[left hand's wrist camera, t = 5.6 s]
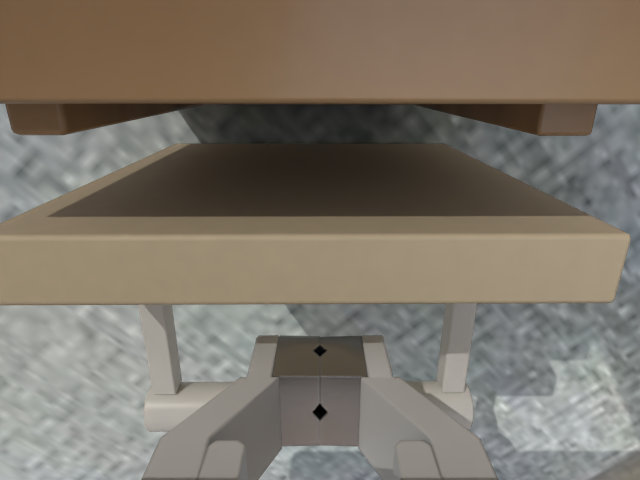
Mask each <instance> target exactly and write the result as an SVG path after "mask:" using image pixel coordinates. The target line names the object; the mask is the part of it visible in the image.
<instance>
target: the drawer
mask: <svg viewBox="0 0 640 480" xmlns="http://www.w3.org/2000/svg"><path fill="white" fill-rule="evenodd" d="M5 105H6V109H7V113H8V117H9V121H10V125H11V129H12V130H13V132H14V133H16V134H19V135H66V134H71V133H76V132H80V131H85V130H90V129H94V128H99V127H103V126H108V125H113V124H117V123H122V122H127V121H131V120H136V119H140V118H145V117H150V116H154V115H159V114H164V113H168V112H173V111H177V110H182V109H187V108H191V107H196V106H201V105H205V104H5ZM330 105H417V106H421V107H425V108H429V109H433V110H437V111H441V112H445V113H449V114H453V115H457V116H461V117H466V118H470V119H474V120H478V121H482V122H486V123H490V124H494V125H498V126H502V127H506V128H510V129H515V130H519V131H523V132H527V133H531V134H535V135H539V136H586V135H589V134H590V133H591V132H592V127H593V123H594V118H595V114H596V109H597V105H598V104H330ZM630 241H631V238H630V235H629V234H627V233H625V232H623V231H621V230H619V229H617V228H615V227H613V226H611V225H609V224H607V223H605V222H603V221H601V220H599V219H597V218H595V217H593V216H591V215H589V214H587V213H585V212H583V211H581V210H578V209H576V208H574V207H572V206H570V205H568V204H566V203H564V202H562V201H560V200H558V199H556V198H554V197H552V196H550V195H548V194H546V193H544V192H542V191H540V190H538V189H536V188H534V187H531V186H529V185H527V184H525V183H523V182H521V181H519V180H517V179H515V178H513V177H511V176H509V175H507V174H505V173H503V172H501V171H499V170H497V169H495V168H493V167H491V166H489V165H487V164H484V163H482V162H480V161H478V160H476V159H474V158H472V157H470V156H468V155H466V154H464V153H462V152H460V151H458V150H456V149H454V148H452V147H450V146H448V145H446V144H175V145H173V146H170V147H168V148H166V149H164V150H161V151H159V152H157V153H155V154H153V155H150V156H148V157H146V158H144V159H142V160H139V161H137V162H135V163H133V164H131V165H128V166H126V167H124V168H122V169H120V170H117V171H115V172H113V173H111V174H109V175H106V176H104V177H102V178H100V179H98V180H95V181H93V182H91V183H89V184H87V185H84V186H82V187H80V188H78V189H76V190H73V191H71V192H69V193H67V194H65V195H62V196H60V197H58V198H56V199H54V200H51V201H49V202H47V203H45V204H43V205H40V206H38V207H36V208H34V209H32V210H29V211H27V212H25V213H23V214H21V215H18V216H16V217H14V218H12V219H10V220H7V221H5V222H3V223H1V224H0V305H138V307H139V313H140V318H141V324H142V330H143V336H144V342H145V348H146V354H147V360H148V366H149V372H150V378H151V384H152V386H151V387H150V389H149V391H148V393H147V396H146V400H145V406H144V424H145V427H146V429H147V430H148V431H150V432H168V431H170V430H172V429H173V428H174V427H176V426H177V425H178V424H180V423H181V422H182V421H184V420H185V419H186V418H188V417H189V416H190V415H191V414H193V413H194V412H195V411H197V410H198V409H199V408H201V407H202V406H203V405H205V404H206V403H207V402H209V401H210V400H211V399H213V398H214V397H215V396H217V395H218V394H219V393H221V392H222V391H223V390H224V389H226V388H227V387H228V386H230V385H231V384H232V383H234V382H181V381H182V377H181V370H180V362H179V355H178V348H177V340H176V333H175V326H174V318H173V311H172V305H183V304H445V312H444V320H443V329H442V337H441V346H440V354H439V363H438V371H437V380H438V381H405V382H406V383H408V384H409V385H410V386H412V387H413V388H414V389H416V390H417V391H418V392H419V393H421V394H422V395H423V396H425V397H426V398H427V399H429V400H430V401H431V402H433V403H434V404H435V405H436V406H438V407H439V408H440V409H442V410H443V411H444V412H446V413H447V414H448V415H450V416H451V417H452V418H454V419H455V420H456V421H457V422H459V423H460V424H461V425H463V426H464V427H465V428H467V429H470V428H471V426H472V423H473V402H472V397H471V393H470V390H469V388H468V386H467V384H466V383H465V382H466V376H467V369H468V362H469V355H470V348H471V342H472V335H473V328H474V321H475V315H476V308H477V303H610V302H613V300H614V299H615V295H616V292H617V288H618V284H619V281H620V277H621V273H622V270H623V266H624V262H625V259H626V255H627V252H628V248H629V244H630Z"/></svg>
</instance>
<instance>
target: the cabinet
mask: <svg viewBox="0 0 640 480" xmlns="http://www.w3.org/2000/svg"><path fill="white" fill-rule="evenodd" d="M0 104H640V0H0Z"/></svg>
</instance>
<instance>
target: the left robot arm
mask: <svg viewBox="0 0 640 480" xmlns="http://www.w3.org/2000/svg"><path fill="white" fill-rule="evenodd" d="M310 445H329V446H358V448H359V450H360V451H361V452H362V454H363V455H364V456H365V458H366V459H367V460H368V462H369V463H370V464H371V466H372V467H373V468H374V470H375V471H376V472H377V474H378V475H379V476H380V478H381V479H382V480H498V477H497V475H496V473H495V471H494V468H493V466H492V464H491V462H490V460H489V457H488V455H487V453H486V451H485V448H484V446H483V444H482V442H481V439H480V438H478V437H477V436H476V435H475V434H473V433H472V432H471V431H469V430H468V429H467V428H465V427H464V426H463V425H461V424H460V423H459V422H457V421H456V420H455V419H454V418H452V417H451V416H450V415H448V414H447V413H446V412H444V411H443V410H442V409H440V408H439V407H438V406H436V405H435V404H434V403H433V402H431V401H430V400H429V399H427V398H426V397H425V396H423V395H422V394H421V393H419V392H418V391H417V390H416V389H414V388H413V387H412V386H410V385H409V384H408V383H406V382H405V381H404V380H402V379H401V378H400V377H393V374H392V370H391V366H390V362H389V358H388V354H387V350H386V346H385V343H384V339H383V336H381V335H369V336H340V337H320V336H278V335H259V336H258V337H257V338H256V342H255V346H254V350H253V354H252V358H251V362H250V366H249V370H248V374H247V377H240V378H239V379H238V380H236V381H235V382H234V383H232V384H231V385H230V386H228V387H227V388H226V389H224V390H223V391H222V392H221V393H219V394H218V395H217V396H215V397H214V398H213V399H211V400H210V401H209V402H207V403H206V404H205V405H203V406H202V407H201V408H199V409H198V410H197V411H195V412H194V413H193V414H191V415H190V416H189V417H188V418H186V419H185V420H184V421H182V422H181V423H180V424H178V425H177V426H176V427H174V428H173V429H172V430H170V431H169V432H168V433H166V434H165V435H164V436H162V437H161V438H160V440H159V442H158V444H157V447H156V449H155V451H154V453H153V455H152V458H151V460H150V462H149V464H148V466H147V469H146V471H145V473H144V475H143V477H142V480H258V479H259V478H260V477H261V475H262V474H263V473H264V471H265V470H266V469H267V467H268V466H269V465H270V463H271V462H272V461H273V459H274V458H275V457H276V456H277V454H278V453H279V452H280V450H281V449H282V446H310Z"/></svg>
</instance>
